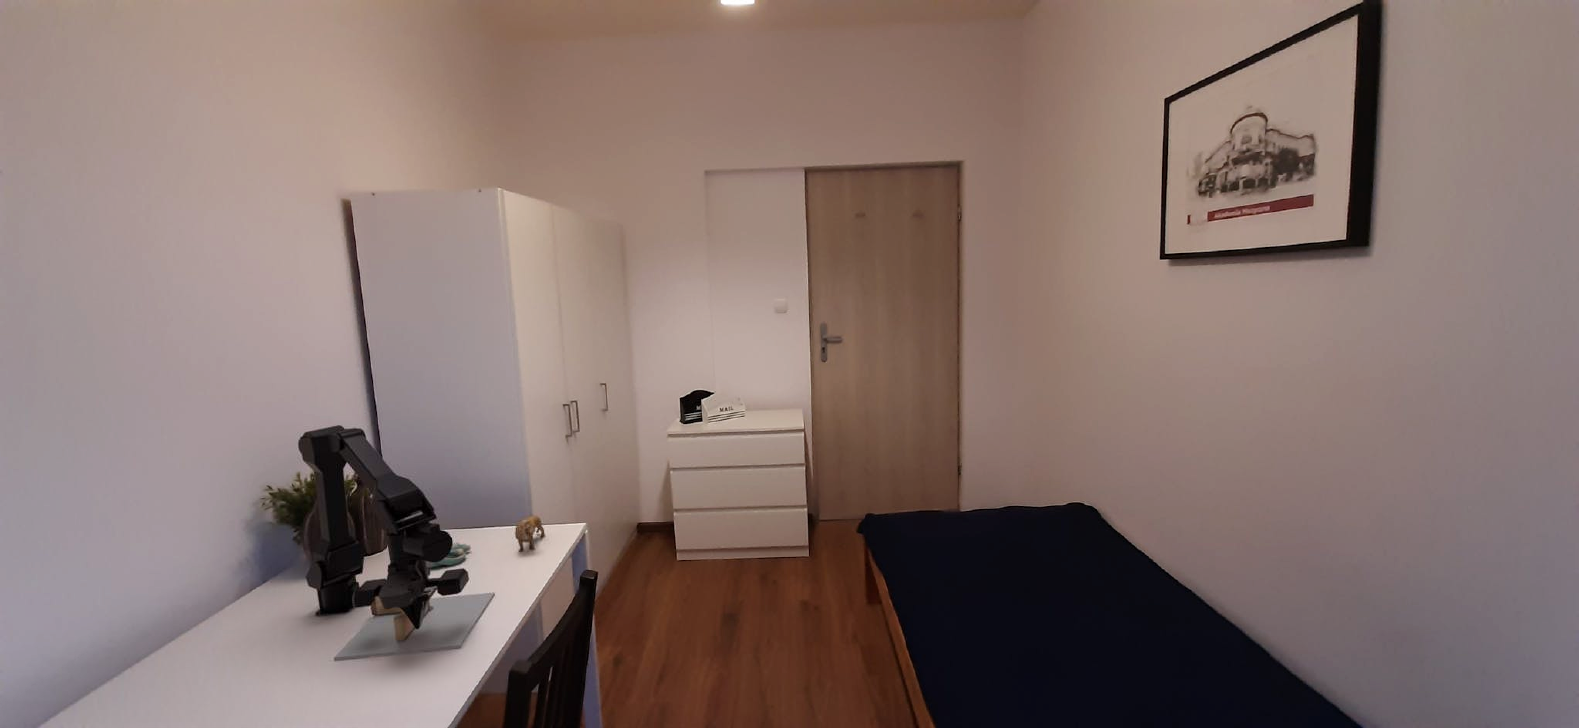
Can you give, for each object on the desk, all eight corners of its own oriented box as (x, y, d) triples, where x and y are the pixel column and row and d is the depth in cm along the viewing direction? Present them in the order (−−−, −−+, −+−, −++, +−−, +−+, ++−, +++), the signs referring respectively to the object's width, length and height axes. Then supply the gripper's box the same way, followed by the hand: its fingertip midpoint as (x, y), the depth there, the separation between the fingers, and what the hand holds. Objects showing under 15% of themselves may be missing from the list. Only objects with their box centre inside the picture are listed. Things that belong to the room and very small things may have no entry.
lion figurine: (536, 556, 158) (533, 521, 157) (514, 558, 157) (510, 524, 156) (547, 532, 172) (544, 501, 171) (526, 535, 171) (523, 503, 170)
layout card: (334, 660, 117) (333, 657, 117) (387, 604, 136) (387, 601, 136) (460, 647, 119) (459, 644, 119) (494, 595, 139) (494, 592, 139)
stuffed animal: (482, 534, 159) (436, 543, 149) (480, 562, 159) (434, 574, 149) (456, 526, 165) (409, 535, 154) (454, 554, 164) (407, 565, 154)
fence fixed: (370, 615, 130) (367, 595, 130) (374, 611, 132) (371, 591, 131) (419, 610, 132) (416, 590, 131) (422, 606, 133) (420, 586, 132)
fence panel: (423, 607, 133) (421, 587, 132) (431, 606, 133) (429, 586, 133) (394, 641, 120) (391, 619, 120) (403, 640, 121) (400, 619, 120)
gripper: (330, 579, 111) (344, 660, 113) (445, 564, 114) (456, 644, 117) (360, 552, 122) (372, 627, 124) (464, 539, 125) (474, 612, 128)
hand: (418, 628), depth 123 cm, fingers closed
